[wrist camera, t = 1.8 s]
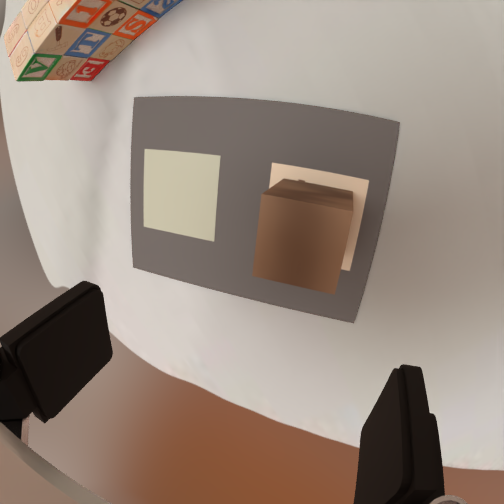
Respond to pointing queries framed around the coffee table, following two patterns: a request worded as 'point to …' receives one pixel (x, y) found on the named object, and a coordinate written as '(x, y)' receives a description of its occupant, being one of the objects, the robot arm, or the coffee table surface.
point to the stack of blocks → (76, 35)
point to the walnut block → (303, 234)
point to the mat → (250, 189)
